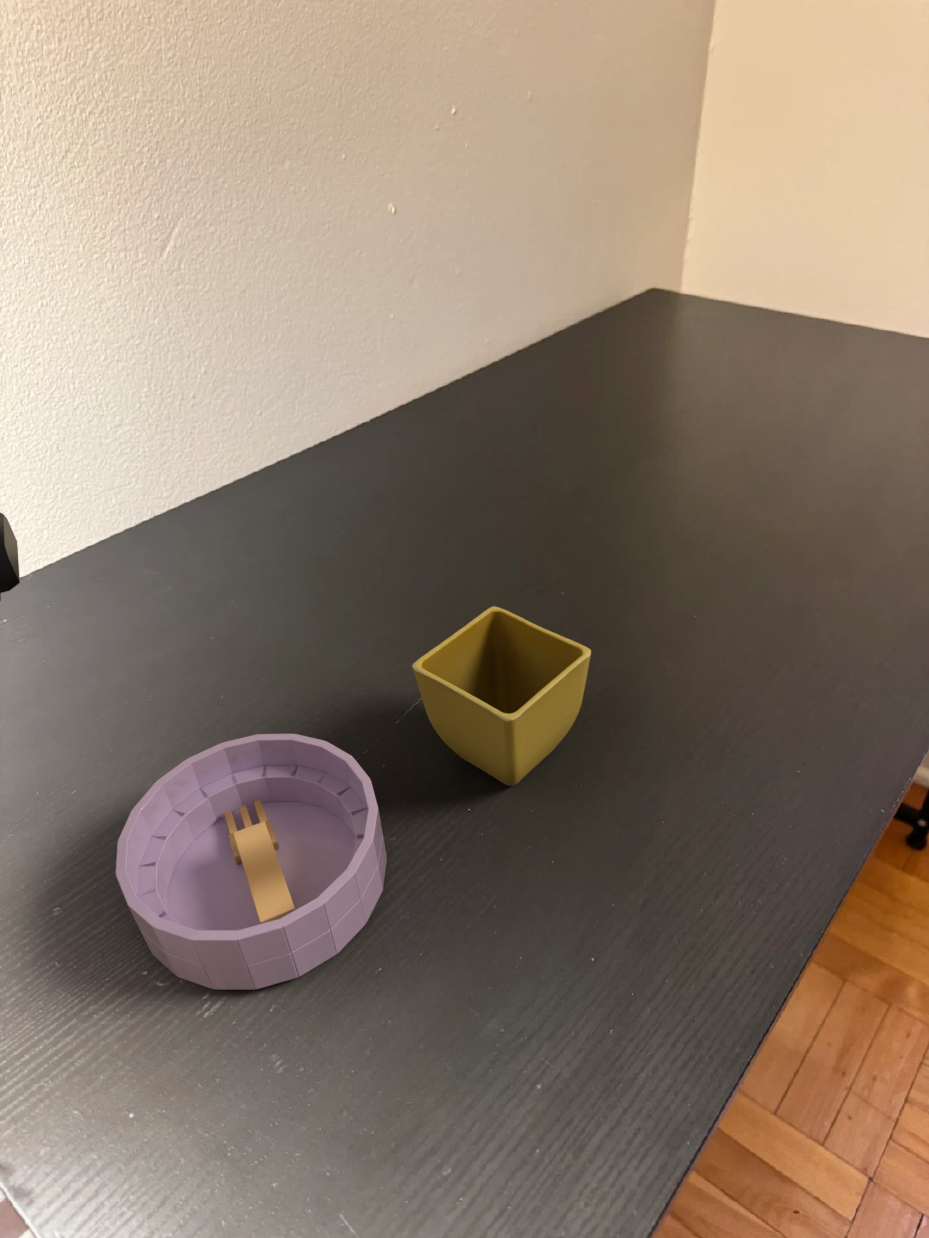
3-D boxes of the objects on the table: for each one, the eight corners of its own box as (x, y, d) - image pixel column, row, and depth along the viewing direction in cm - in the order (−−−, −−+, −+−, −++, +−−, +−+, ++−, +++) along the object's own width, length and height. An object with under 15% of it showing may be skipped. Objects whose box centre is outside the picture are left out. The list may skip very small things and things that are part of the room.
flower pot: (419, 759, 61) (408, 663, 56) (497, 695, 66) (493, 602, 61) (514, 820, 56) (511, 721, 51) (590, 746, 61) (595, 649, 56)
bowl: (90, 951, 50) (58, 895, 47) (230, 769, 61) (212, 713, 58) (316, 1031, 45) (298, 975, 42) (423, 818, 57) (416, 761, 53)
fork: (310, 935, 49) (301, 905, 48) (263, 955, 48) (253, 925, 47) (264, 806, 57) (255, 775, 56) (223, 821, 57) (213, 790, 55)
